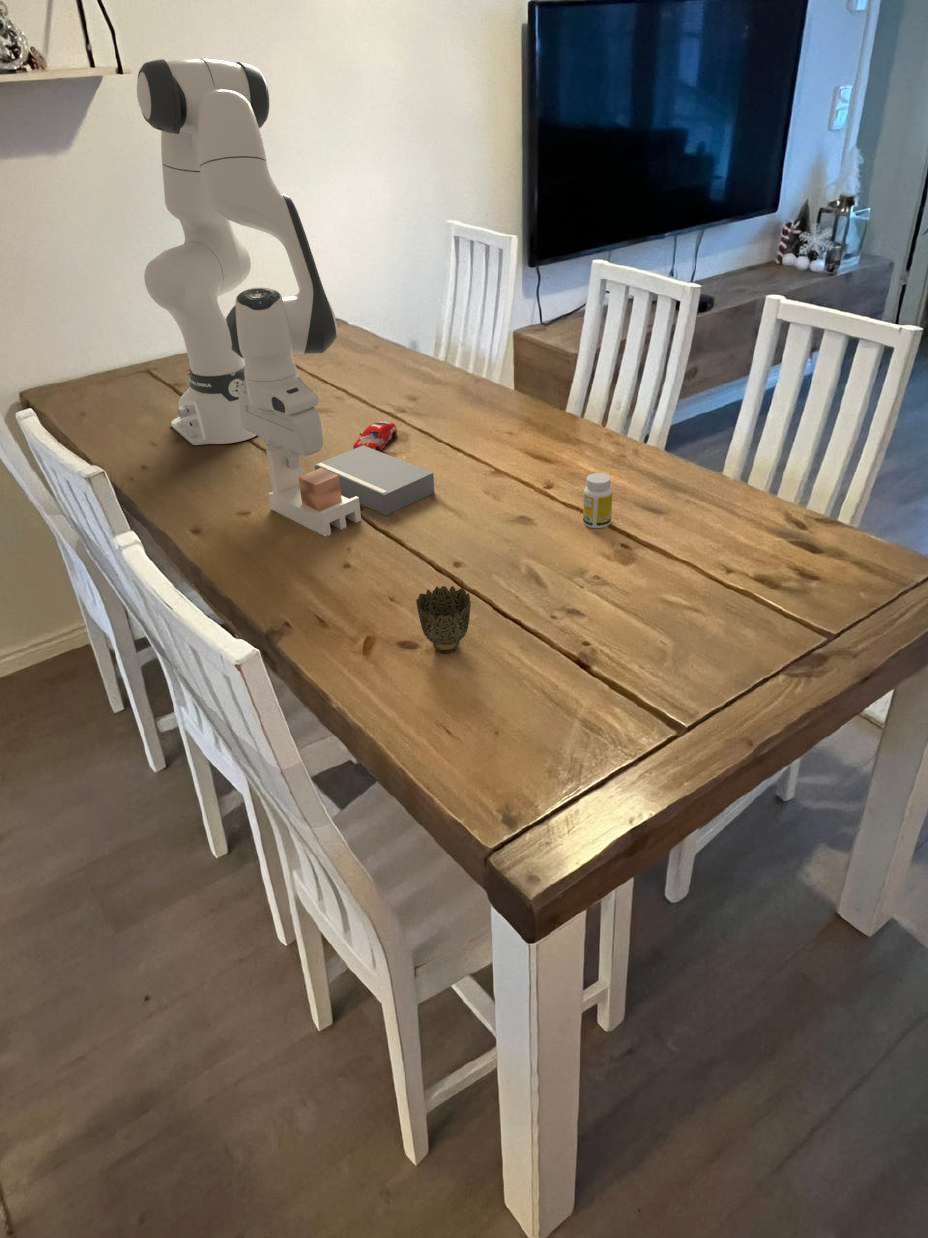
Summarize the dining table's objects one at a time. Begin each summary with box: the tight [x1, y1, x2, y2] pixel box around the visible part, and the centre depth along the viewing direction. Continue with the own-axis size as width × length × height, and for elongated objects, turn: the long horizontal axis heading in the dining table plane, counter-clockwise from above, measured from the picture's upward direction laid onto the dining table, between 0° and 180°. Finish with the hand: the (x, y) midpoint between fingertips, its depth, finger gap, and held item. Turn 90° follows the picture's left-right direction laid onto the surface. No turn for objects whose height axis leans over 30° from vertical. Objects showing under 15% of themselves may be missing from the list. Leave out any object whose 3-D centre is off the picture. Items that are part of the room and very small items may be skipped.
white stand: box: [265, 444, 362, 537], centre depth 159 cm, size 16×8×11 cm, turn 45°
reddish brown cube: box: [298, 468, 342, 512], centre depth 158 cm, size 5×5×5 cm
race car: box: [352, 420, 398, 452], centre depth 187 cm, size 13×5×4 cm, turn 157°
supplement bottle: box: [582, 472, 613, 529], centre depth 153 cm, size 5×5×8 cm
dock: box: [314, 445, 435, 516], centre depth 169 cm, size 20×12×4 cm, turn 45°
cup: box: [415, 585, 472, 653], centre depth 124 cm, size 8×7×8 cm
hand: (285, 464), depth 162 cm, fingers open, 3 cm apart
